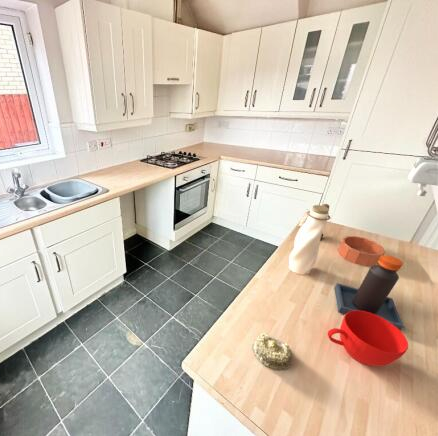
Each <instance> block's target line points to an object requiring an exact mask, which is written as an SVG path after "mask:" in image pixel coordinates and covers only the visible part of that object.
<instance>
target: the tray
mask: <svg viewBox="0 0 438 436" xmlns="http://www.w3.org/2000/svg"><path fill="white" fill-rule="evenodd" d="M358 289H359V288H356V287H352V286H349V285H345V284H341V283H339V282H336V284H335V286H334V294H335V299H336V306H337V307H336V308H337V312H338V313H339V314H342V315H344V316H345V315H346V314H347V313H348V312H350V311H354V310H359V309H357V308H356V307H355V306H354V305H353V298H354V296H355V295H356V293H357V291H358ZM360 311H361V310H360ZM375 315H377V316H380V317H382V318H383V319H385V320H387V321H388V322H390V323H391V324H393V325H394V326H395V327H397V328H398V329H399V330H400V331H401V332H402V330H403V329H404V328H405V325H404V323H403V320H402V318H401V315H400V313H399V311H398V308H397V306H396V304H395V301H394V299H393V298H392V297H389V296H387V298H386V300H385V301H384V303H383V304H382V306H381V307H380V309H379V311H378V312H377V313H375Z"/></svg>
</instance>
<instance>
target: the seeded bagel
mask: <svg viewBox="0 0 438 436" xmlns="http://www.w3.org/2000/svg"><path fill="white" fill-rule="evenodd" d="M252 351H253V354H254V356H255V357H256V359H257V360H258V362H260V364H261V365H263V366H264V367H267V368H269V369H270V370H274V371H283V370H286V369H288V368H289V367H290V366H291V365H292V349H291V348H290V345H289V343H283V342H282V341H280V340H279V339H277V338H275V337H272V336H270V335H269V334H268V333H267V332H263V333H260V334H258V336H257V337H256V338H255V340H253V343H252Z"/></svg>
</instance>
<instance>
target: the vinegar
mask: <svg viewBox="0 0 438 436" xmlns="http://www.w3.org/2000/svg"><path fill="white" fill-rule="evenodd" d="M403 264H404V261H402V260H401V259H400V258H398V257H396V256H394V255H389V254H384V255H382V256H381V257H380V259H379V261H378V264H377V265H374V266H370V267H369V269H368V271H367V272H366V275H365V276H364V278H363V279H362V282H361V284H360V285H359V287H358V288H357V289H358V291H357V293H356V295H355V296H354V298H353V305H354V306H355V307H356V308H357V309H359V310H361V311H366V312H369V313H372V314H375V313H377V312H378V311H379V309H380V307H381V306H382V304H383V303H384V301H385V300H386V298H387V297H389V295H390V293H391V292H392V290H393V289H394V287H395V285H396V284H397V282H398V281H399V279H400V276H399V274H398V272H399V270H400V269H401V268H402V266H403Z"/></svg>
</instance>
